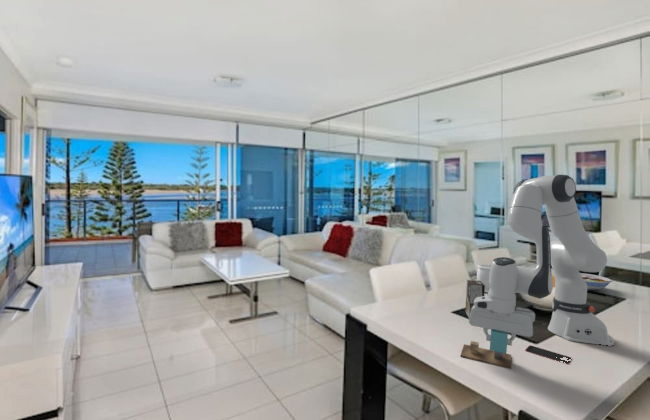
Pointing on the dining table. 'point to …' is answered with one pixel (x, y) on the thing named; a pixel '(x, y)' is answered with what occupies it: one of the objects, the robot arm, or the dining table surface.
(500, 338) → the teal block
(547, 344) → the dining table surface
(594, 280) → the ramen bowl
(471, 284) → the coffee box
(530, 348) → the smartphone
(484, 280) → the jar
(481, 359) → the board
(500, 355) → the steel post
